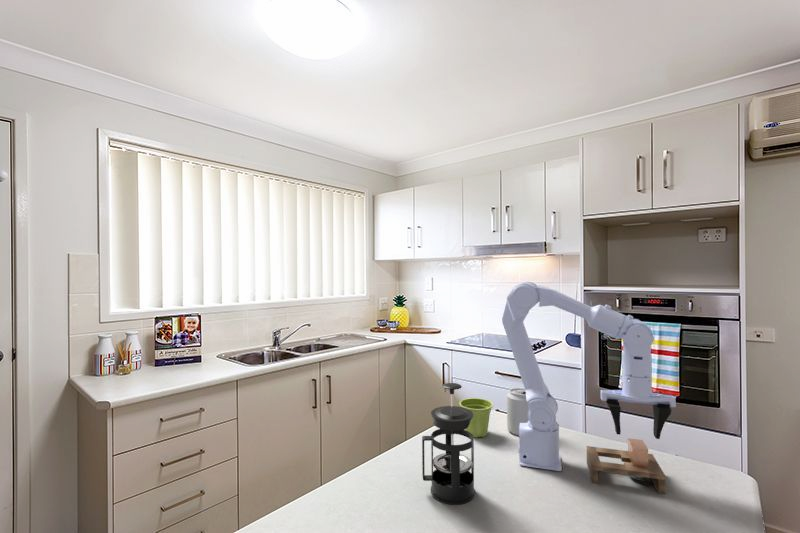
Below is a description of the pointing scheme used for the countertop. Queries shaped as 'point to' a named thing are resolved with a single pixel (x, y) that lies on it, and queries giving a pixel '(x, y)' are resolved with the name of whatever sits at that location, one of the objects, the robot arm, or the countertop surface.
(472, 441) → the french press
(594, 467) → the keyhole plate
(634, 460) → the peg
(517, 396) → the can
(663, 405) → the robot arm
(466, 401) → the plant pot
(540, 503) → the countertop surface
